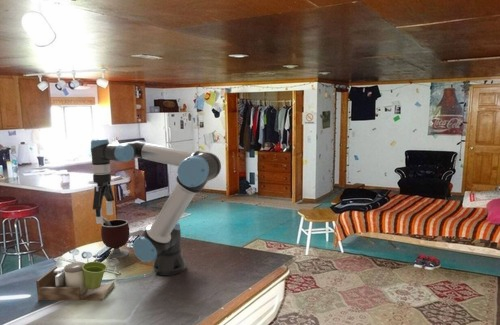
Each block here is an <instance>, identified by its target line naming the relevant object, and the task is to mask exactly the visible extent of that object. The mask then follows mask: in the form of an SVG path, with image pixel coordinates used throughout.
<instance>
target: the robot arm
mask: <svg viewBox="0 0 500 325" xmlns="http://www.w3.org/2000/svg"><path fill="white" fill-rule="evenodd" d="M90 154H91V168H92V174H93V175H92V178H93V180H92V181H93V183H94V184H96V186H94V194H93V203H92V210H94V212H95V223H96V224H98V225H99V224H101V225H102V223H103V222H104V220H103V217H104V216H103V208H102V205H103V201H104V200H103V199H104V198H105V206H106V208H105V209H106V216H113V215H114V210H113V209H114V208H113V206H114V205H113V201H114V202H115V198H114V197H115V196H114V193H113V189H112V185H111V182H112V175H111V161H112V162H130V161H131V160H132V159H142V160H146V161H152V162H155V163H161V164H164V165H165V164H166V165H169V166H174V167H177V171H176V173H177V176H176V177H175V181H176V185H175V186H174V188H173V190H172V191H171V193H170V195H169V196H168V198H167V200H166V201H165V202H164V204H163V206H162V208H161V210H160V211H159V214H158V215H157V216H156V218H155V219H154V221H153V223H150V224H148V225H147V226H146V228H145V229H144V231H143V233H142V234H141V235H140V236H137V238H135V240H134V241H133V244H132V249H133V253H134V254H135V256H136V258H138V259H139V260H140V261H142V262H144V263H150V262H152V261H154V262H153V265H152V272H153V273H155V274H156V275H158V276H173V275H178V274H180V273H183V272H184V271H185V270H186V262H185V258H184V256H183V253H182V238H181V234H182V232H181V231H182V230H181V224H180V223H179V220H180V219H181V217H182V216H183V214H184V212H185V211H186V209H187V208H188V206H189V205H190V203H191V201H192V200H193V198H194V197H195V196H196V194H200V193H202V191H203V189H204V188H205V186H206V184H207V183H208V182H210V181H212V180H213V179H215V178H217V177H218V176H219V174H220V172H221V169H222V163H221V160H220V158H219V157H218V156H217V155H216V154H214V153H212V152H207V151H199V150H196V151H194V152H193V151H190V150H189V151H188V150H182V149H179V148H173V147H167V146H163V145H158V144H154V143H153V144H152V143H148V142H147V141H145V140H135V141H129V142H122V143H110V142H109V139H108V138H94V139H91V141H90Z"/></svg>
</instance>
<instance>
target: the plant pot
mask: <svg viewBox="0 0 500 325" xmlns="http://www.w3.org/2000/svg"><path fill="white" fill-rule="evenodd" d="M82 268H83V271H84V283H85V288H87V289H97V288H99V287H100V285H101V284H102V281H103V277H104V274H105V272H106V270H107V269H108V266H107V264H105V263H104V262H101V261H90V262H86V263H85V264H84V265H83V267H82Z"/></svg>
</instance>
